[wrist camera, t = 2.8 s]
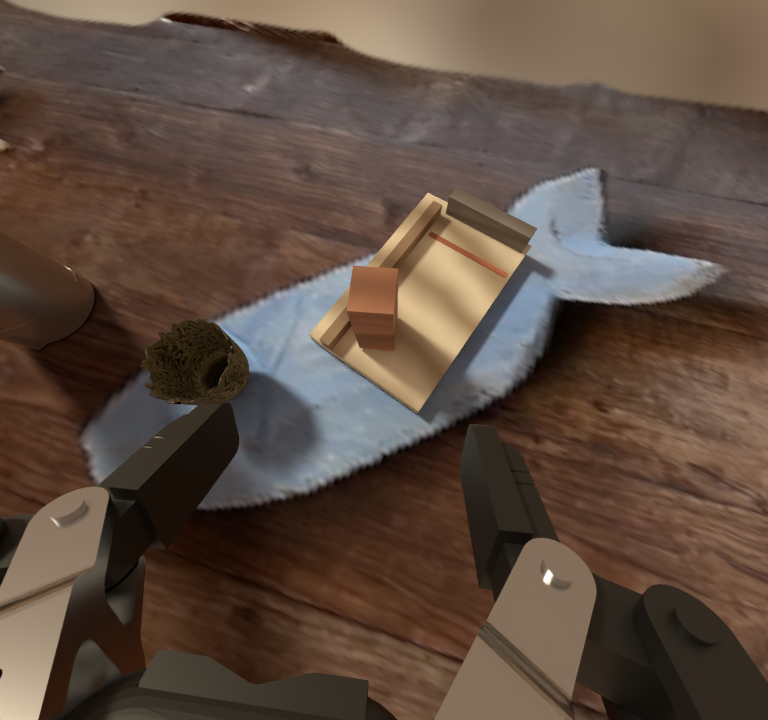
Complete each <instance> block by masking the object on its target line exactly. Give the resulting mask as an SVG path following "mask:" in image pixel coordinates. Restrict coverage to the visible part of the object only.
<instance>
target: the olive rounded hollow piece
mask: <svg viewBox="0 0 768 720" xmlns="http://www.w3.org/2000/svg"><path fill="white" fill-rule="evenodd" d="M196 322H197V323H196ZM196 322H194V321H192V320H188V319H184V320H182V321H181V323H179V324H178V323H172V329H171V331H172V333H168V332H160V333H159V336H160V338H161V340H160V341H158V342H153V343H152V344H151V345H149V346H147V347H146V348H145V353H146V360H145V361H143V362H142V364H141V366H142V368H143V369H145V370H148V371H149V372H150V374H151V375H150V377H149V379H150V380H151V383H150V384H145V386H146V387H147V388H149V389H151V392H150V393H149V394H150V395H151V396H152V397H154V398H157V399H161V400H165V401H166V402H165V403H170V404H186V405H199V404H200V403H201V402H203V401H216V402H227V401H229V400H231V399H232V398H234V397H235V396H237V395H238V394H239V393H240V392H241V391H243V390H244V388H245V387H246V385H247V383H248V377H249V364H248V360H247V358H246V356H245V354H244V353H243V351H242V350H241V348H240V347H239V346H238V345H237V344H236V343H235V342H234V341H233V340H232V339H231V338H230V337H229V336H228V335H227V334H226V333H225V332H224V331H223V330H222V329H221V328H220V327H219V326H218V325H217V324H216V323H214V322H210V323H207V322H206V321H204V320H203V319H200V318H197V319H196Z"/></svg>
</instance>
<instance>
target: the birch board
mask: <svg viewBox="0 0 768 720" xmlns="http://www.w3.org/2000/svg"><path fill="white" fill-rule="evenodd" d="M536 230H537V228H535V227H533V226H531V225H529V224H527V223H525V222H523V221H521V220H519V219H517V218H515V217H513V216H511V215H509V214H507V213H505V212H503V211H501V210H499V209H497V208H495V207H493V206H491V205H490V204H488V203H486V202H484V201H482V200H480V199H478V198H476V197H474V196H472V195H470V194H468V193H466V192H464V191H462V190H460V189H458V188H456V189H455V190H454V191H453V192H452V194H451V195H450V196H449V200H448V203H447V202H445V201H443V200H441V199H439V198H437V197H435V196H433V195H431V194H430V193H427V195H426V196H425V197H424V198H423V199H422V201H421V202H420V203H419V204H418V205H417V206H416V208H415V209H414V210H413V211H412V212H411V214H410V215H409V216H408V217H407V218H406V220H405V221H404V222H403V223H402V224H401V226H400V227H399V228H398V229H397V230H396V232H395V233H394V234H393V235H392V236H391V238H390V239H389V240H388V241H387V242H386V244H385V245H384V246H383V247H382V248H381V249H380V251H379V252H378V253H377V254H376V255H375V257H374V258H373V259H372V260H371V261H370V263H369V264H368V265H367V266H366V267H381V268H396V269H398V318H397V329H396V339H395V349H394V351H388V350H376V349H364V348H359V345H358V342H357V339H356V336H355V334H354V331H353V328H352V325H351V322H350V319H349V317H348V314H347V304H348V297H349V291H350V287H349V288H348V289H347V290H346V291H345V292H344V294H343V295H342V296H341V297H340V298H339V300H338V301H337V302H336V303H335V304H334V306H333V307H332V308H331V309H330V310H329V312H328V313H327V314H326V315H325V316H324V318H323V319H322V320H321V321H320V322H319V324H318V325H317V326H316V327H315V328H314V330H313V331H312V332H311V333H310V334H309V336H310V337H311V339H312V340H313V341H315V342H316V343H317V344H319V345H320V346H322V347H323V348H325V349H326V350H327V351H329V352H330V353H332V354H333V355H335V356H336V357H337V358H339V359H340V360H342V361H343V362H345V363H346V364H347V365H349V366H350V367H352V368H353V369H354V370H356V371H357V372H359V373H360V374H362V375H363V376H364V377H366V378H367V379H369V380H370V381H372V382H373V383H374V384H376V385H377V386H379V387H380V388H382V389H383V390H384V391H386V392H387V393H389V394H390V395H391V396H393V397H394V398H396V399H397V400H399V401H400V402H401V403H403V404H404V405H406V406H407V407H409V408H410V409H411V410H413V411H414V412H416V413H417V414H418V412H419V411H420V409H421V408H422V406H423V405H424V403H425V402H426V400H427V399H428V397H429V396H430V394H431V393H432V392H433V390H434V389H435V387H436V386H437V384H438V383H439V381H440V380H441V378H442V377H443V375H444V374H445V372H446V371H447V370H448V368H449V367H450V365H451V364H452V362H453V361H454V359H455V358H456V356H457V355H458V353H459V352H460V350H461V349H462V348H463V346H464V345H465V343H466V342H467V340H468V339H469V337H470V336H471V334H472V333H473V331H474V330H475V329H476V327H477V326H478V324H479V323H480V321H481V320H482V318H483V317H484V315H485V314H486V312H487V311H488V309H489V308H490V307H491V305H492V304H493V302H494V301H495V299H496V298H497V296H498V295H499V293H500V292H501V290H502V289H503V287H504V286H505V285H506V283H507V282H508V280H509V279H510V277H511V276H512V274H513V273H514V271H515V270H516V268H517V267H518V265H519V264H520V263H521V261H522V260H523V258H524V257H525V255H526V254H527V252H528V251H529V249H530V248H531V246H530V245H528V242H529V241H530V239H531V238H532V236H533V234H534V233H535V231H536Z"/></svg>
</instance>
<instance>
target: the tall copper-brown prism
mask: <svg viewBox="0 0 768 720" xmlns="http://www.w3.org/2000/svg"><path fill="white" fill-rule="evenodd" d="M347 314H348V317H349V319H350V322H351V325H352V328H353V331H354V334H355V336H356V339H357V342H358V345H359V348H364V349H376V350H388V351H394V349H395V339H396V329H397V318H398V269H396V268H381V267H365V266H353V271H352V278H351V284H350V291H349V297H348V304H347Z"/></svg>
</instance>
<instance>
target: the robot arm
mask: <svg viewBox="0 0 768 720" xmlns="http://www.w3.org/2000/svg"><path fill="white" fill-rule="evenodd" d="M94 299H95V294H94V289H93V287H92V285H91V283H90V282H89V281H88V280H87V279H86V278H84V277H82V276H81V275H79V274H77V273H75V272H74V271H73V270H71V269H69V268H67V267H66V266H63V265H61V264H60V263H58V262H56V261H54V260H52V259H51V258H49V257H47V256H45V255H44V254H42V253H40V252H38V251H37V250H35V249H33V248H31V247H30V246H28V245H26V244H24V243H22V242H21V241H19V240H17V239H15V238H14V237H12V236H10V235H8V234H6V233H5V232H3V231H1V230H0V339H1V340H5V341H8V342H12V343H15V344H19V345H22V346H26V347H29V348H33V349H36V350H40V349H42V348H43V347H44V346H45V345H46V344H48V343H51V342H54V341H58V340H60V339H63V338H65V337H67V336H69V335H70V334H71V333H73V332H74V331H76V330H77V329H78V328H79V327H80V326H81V325H82V324H83V323H84V322H85V320H86V319H87V318H88V316H89V314H90V312H91V311H92V308H93V305H94ZM238 446H239V435H238V431H237V426H236V422H235V418H234V414H233V409H232V406H231V405H230V404H229V403H227V402H216V401H203V402H201V403H200V404H199V405H198V406H197V407H196V408H195V409H194V410H192V411H191V412H190V413H189V414H186V415H184V416H182V417H180V418H178V419H176V420H175V421H173V422H171V423H169V424H168V425H167V426H166V427H164V428H163V429H162V430H161V431H160V432H159V433H158V434H156V437H155V438H152V439H151V440H150V441H148V442H147V443H146V444H145V446H144V448H140V449H139V450H138V451H137V452H136V453H135V454H134V455H132V456H131V457H130V458H129V459H128V460H127V461H126V462H124V463H123V464H122V465H121V466H120V467H119V468H118V469H116V470H115V471H114V472H113V473H112V474H111V475H109V476H108V477H107V478H106V479H105V480H104V481H103V482H101V483H100V484H99V485H98V486H97V487H86V488H82V489H78V490H75V491H72V492H69V493H67V494H65V495H63V496H61V497H59V498H57V499H55V500H54V501H52V502H50V503H49V504H47V505H46V506H45V507H43V508H42V509H41V510H40V511H39V512H36V513H30V514H24V515H18V516H12V517H6V518H1V516H0V720H397V719H396V718H395V717H394V716H393V715H392V714H391V713H390V712H389V711H388V710H387V709H385V708H384V707H383V706H382V705H381V704H379V703H378V702H376V701H374V700H373V699H371V698H369V697H368V680H361V679H355V678H348V677H342V676H335V675H328V674H322V673H310V674H305V675H301V676H296V677H291V678H286V679H281V680H277V681H272V682H267V683H262V684H252V683H250V682H248V681H246V680H245V679H243V678H242V677H240V676H238V675H237V674H235V673H234V672H232V671H231V670H229V669H227V668H226V667H224V666H223V665H221V664H219V663H218V662H216V661H215V660H213V659H212V658H210V657H208V656H202V655H196V654H189V653H182V652H176V651H169V650H162V649H158V651H157V652H156V654H155V656H154V657H153V659H152V661H151V663H150V664H149V666H148V668H146V664H145V657H144V652H143V649H142V644H141V619H142V605H143V591H144V578H145V559H144V557H143V553H144V552H145V551H146V549H147V548H155V549H163V550H166V549H167V548H168V546H169V545H170V544H171V542H172V541H173V540H174V538H175V537H176V536H177V534H178V533H179V531H180V530H181V529H182V527H183V526H184V525H185V523H186V522H187V520H188V519H189V518H190V516H191V515H192V514H193V512H194V511H195V510H196V508H197V507H198V505H199V504H200V503H201V501H202V500H203V499H204V497H205V496H206V494H207V493H208V492H209V490H210V489H211V488H212V486H213V485H214V484H215V482H216V481H217V479H218V478H219V477H220V475H221V474H222V473H223V471H224V470H225V468H226V467H227V466H228V464H229V463H230V462H231V460H232V459H233V458H234V456H235V454H236V452H237V450H238ZM460 470H461V482H462V488H463V494H464V500H465V506H466V512H467V518H468V524H469V530H470V536H471V542H472V548H473V554H474V560H475V566H476V572H477V578H478V584H479V588H482V589H490V590H492V591H493V596H494V601H495V605H494V607H493V609H492V611H491V613H490V615H489V617H488V619H487V621H486V623H485V624H484V626H482V628H481V630H480V631H479V633H478V635H477V637H476V639H475V641H474V643H473V645H472V647H471V649H470V651H469V653H468V655H467V657H466V658H465V660H464V662H463V664H462V666H461V668H460V670H459V672H458V674H457V676H456V678H455V680H454V682H453V684H452V686H451V688H450V690H449V692H448V694H447V696H446V698H445V700H444V702H443V704H442V706H441V708H440V710H439V712H438V713H437V715H436V717H435V719H434V720H574V709H573V708H572V707H571V699H572V693H573V689H574V685H575V682H577V683H579V684H581V685H583V686H585V687H586V688H588V689H590V690H592V691H594V692H595V693H597V694H599V695H601V697H602V700H603V703H604V706H605V709H606V712H607V715H608V718H609V720H768V682H767V681H766V680H765V678H764V677H763V675H762V674H761V672H760V671H759V670H758V668H757V667H756V665H755V664H754V662H753V661H752V660H751V658H750V657H749V655H748V654H747V652H746V651H745V650H744V648H743V647H742V645H741V644H740V642H739V641H738V640H737V638H736V637H735V635H734V634H733V633H732V631H731V630H730V629H729V627H728V626H727V625H726V624H725V623H724V622H723V621H722V620H721V619H720V618H719V617H718V616H717V615H716V614H715V613H714V612H713V611H712V610H711V609H710V608H708V607H707V606H706V605H705V604H703V603H702V602H701V601H699V600H698V599H696V598H695V597H693V596H692V595H690V594H688V593H686V592H684V591H682V590H680V589H678V588H675V587H672V586H668V585H662V584H658V585H653V586H650V587H649V588H648V589H647V590H646V591H645V592H644V594H643V595H641V594H639V593H637V592H634V591H632V590H630V589H627V588H625V587H623V586H620V585H618V584H615V583H613V582H611V581H608V580H606V579H604V578H601V577H599V576H597V575H595V574H593V573H592V572H590V570H589V568H588V567H587V565H586V564H585V563H584V562H583V560H582V559H581V558H580V557H579V556H578V555H577V554H576V553H575V552H573V551H572V550H571V549H569V548H568V547H567V546H565V545H563V544H561V543H560V541H559V539H558V537H557V535H556V533H555V530H554V528H553V526H552V523H551V521H550V519H549V516H548V514H547V512H546V509H545V507H544V505H543V503H542V500H541V498H540V496H539V493H538V491H537V489H536V487H535V486H534V485H535V484H534V482H533V479H532V477H531V475H529V470H528V468H527V465H526V463H525V461H524V458H523V457H522V456H521V454H520V453H519V452H518V451H517V450H516V449H515V448H514V447H513V446H512V445H511V444H503V443H500V440H499V437H498V434H497V432H496V429H495V427H494V426H486V425H475V424H470V425H469V426H468V430H467V434H466V439H465V444H464V448H463V453H462V458H461V469H460Z"/></svg>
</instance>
